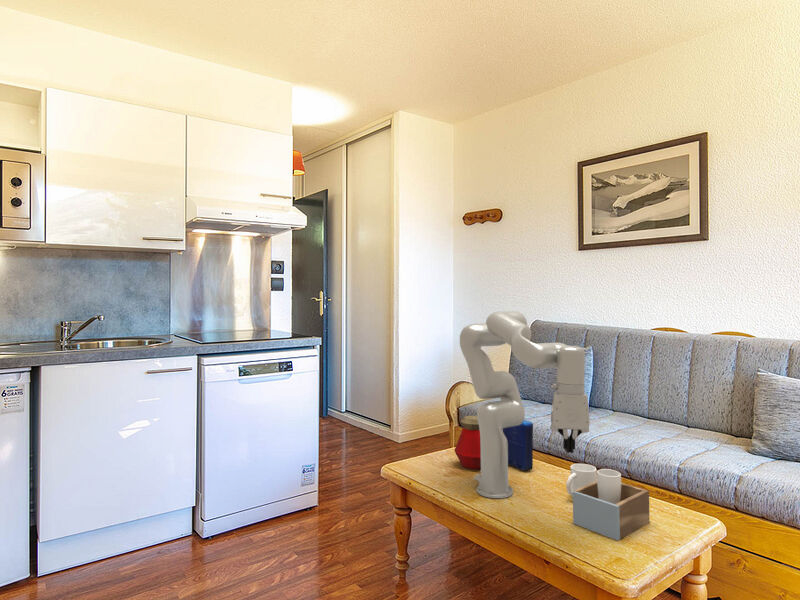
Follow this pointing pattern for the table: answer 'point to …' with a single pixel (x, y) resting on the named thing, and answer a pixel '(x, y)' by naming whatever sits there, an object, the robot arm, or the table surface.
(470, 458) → the red faceted jar
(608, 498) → the drinking glass
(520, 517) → the table surface
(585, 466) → the mug
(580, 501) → the thin blue-gray plank
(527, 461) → the book
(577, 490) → the u-shaped wooden frame
